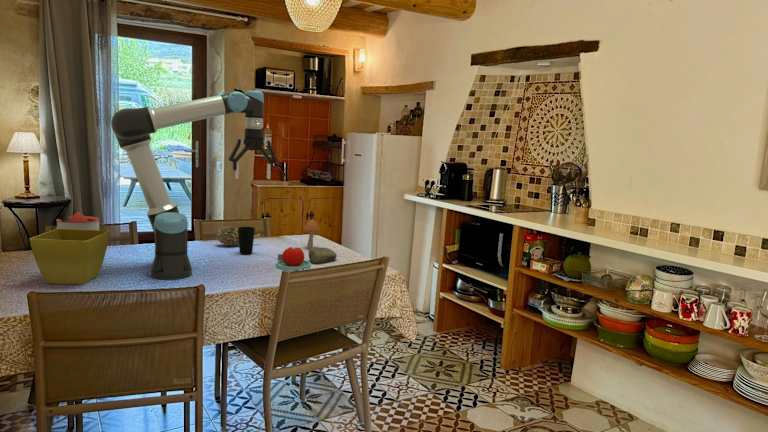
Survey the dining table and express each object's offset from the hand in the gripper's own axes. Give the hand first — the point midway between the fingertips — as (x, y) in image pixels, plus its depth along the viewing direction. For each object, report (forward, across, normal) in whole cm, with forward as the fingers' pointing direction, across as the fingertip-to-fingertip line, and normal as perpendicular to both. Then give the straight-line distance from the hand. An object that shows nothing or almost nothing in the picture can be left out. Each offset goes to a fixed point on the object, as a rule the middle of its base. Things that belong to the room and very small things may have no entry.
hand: (252, 178), depth 226 cm
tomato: (+36, +15, -13) cm, 41 cm away
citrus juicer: (+37, -66, +24) cm, 79 cm away
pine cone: (+37, +3, +34) cm, 50 cm away
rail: (+36, +16, -4) cm, 40 cm away
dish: (+36, +15, -13) cm, 41 cm away
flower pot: (+37, -67, -9) cm, 77 cm away
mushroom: (+37, +35, +19) cm, 54 cm away
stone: (+37, +31, -6) cm, 48 cm away
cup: (+37, +2, +16) cm, 40 cm away
